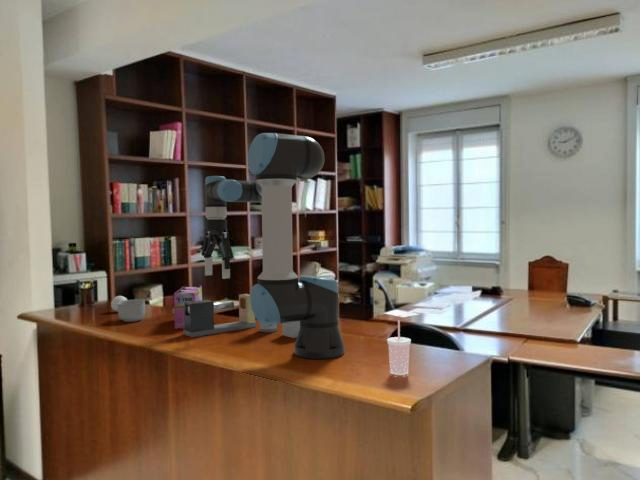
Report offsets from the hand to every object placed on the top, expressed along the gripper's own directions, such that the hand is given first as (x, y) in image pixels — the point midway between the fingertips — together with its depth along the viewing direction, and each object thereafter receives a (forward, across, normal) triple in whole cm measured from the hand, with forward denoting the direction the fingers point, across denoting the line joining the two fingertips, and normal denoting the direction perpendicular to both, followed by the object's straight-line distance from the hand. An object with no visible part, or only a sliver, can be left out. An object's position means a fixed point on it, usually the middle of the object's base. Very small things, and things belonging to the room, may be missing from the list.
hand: (217, 276), depth 188 cm
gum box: (+20, +22, +1) cm, 30 cm away
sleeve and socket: (+18, 0, -1) cm, 18 cm away
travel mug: (+20, -13, -14) cm, 28 cm away
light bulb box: (+20, -25, -19) cm, 37 cm away
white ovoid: (+21, +65, +15) cm, 70 cm away
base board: (+20, 0, -1) cm, 20 cm away
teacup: (+21, +43, +17) cm, 51 cm away
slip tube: (+12, 0, +3) cm, 13 cm away
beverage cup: (+19, -80, -10) cm, 83 cm away
